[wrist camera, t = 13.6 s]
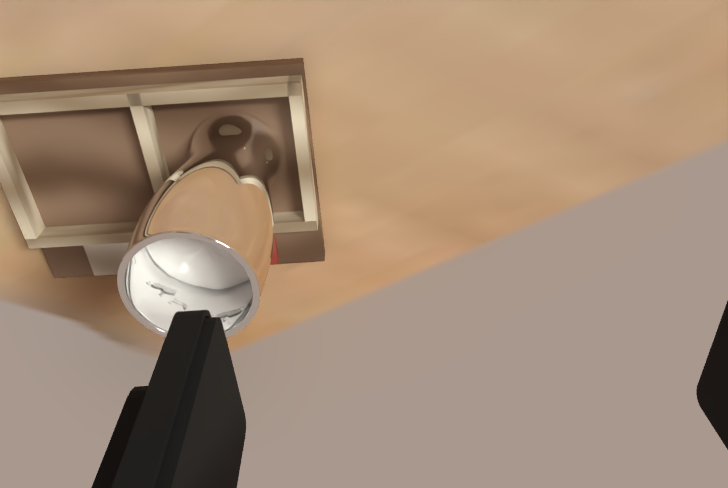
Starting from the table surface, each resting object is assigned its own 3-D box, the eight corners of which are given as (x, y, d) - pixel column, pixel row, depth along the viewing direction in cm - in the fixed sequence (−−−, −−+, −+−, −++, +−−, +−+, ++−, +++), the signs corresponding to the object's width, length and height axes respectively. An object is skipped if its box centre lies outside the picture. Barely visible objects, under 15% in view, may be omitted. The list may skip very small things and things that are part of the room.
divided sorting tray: (-19, 79, 38) (-41, 93, 36) (303, 58, 38) (300, 71, 36) (60, 268, 47) (46, 290, 44) (324, 252, 46) (324, 272, 44)
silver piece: (269, 212, 43) (239, 362, 30) (173, 179, 41) (98, 323, 29) (303, 128, 40) (285, 258, 27) (199, 88, 38) (128, 206, 25)
